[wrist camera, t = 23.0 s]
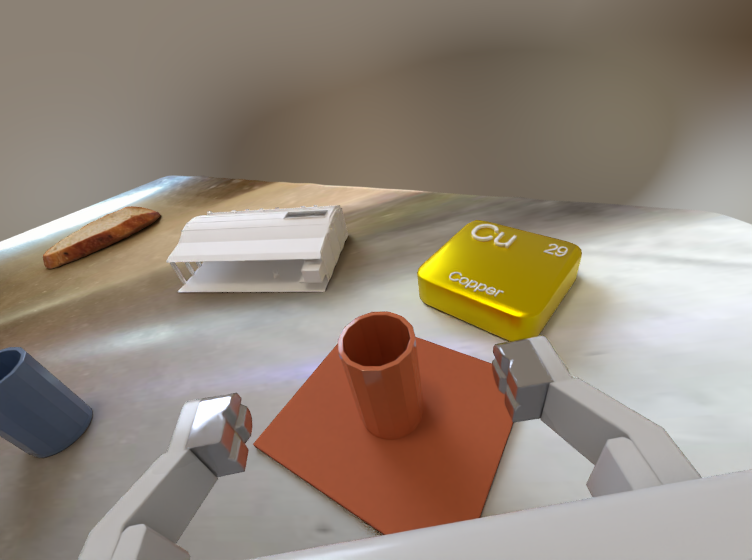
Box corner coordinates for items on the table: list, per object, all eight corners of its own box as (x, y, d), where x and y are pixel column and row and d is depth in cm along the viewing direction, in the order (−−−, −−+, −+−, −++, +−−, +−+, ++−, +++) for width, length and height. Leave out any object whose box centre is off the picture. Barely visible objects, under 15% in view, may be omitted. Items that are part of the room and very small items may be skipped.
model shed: (173, 292, 56) (149, 255, 52) (219, 239, 67) (203, 205, 63) (327, 292, 50) (314, 251, 46) (350, 234, 61) (341, 197, 57)
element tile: (413, 300, 46) (409, 270, 43) (473, 242, 54) (473, 213, 51) (529, 351, 38) (534, 319, 35) (580, 273, 46) (588, 241, 43)
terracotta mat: (456, 584, 24) (456, 582, 24) (254, 446, 34) (252, 444, 34) (528, 379, 35) (529, 376, 35) (360, 320, 45) (359, 317, 45)
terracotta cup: (404, 452, 31) (390, 383, 25) (347, 421, 34) (322, 353, 28) (434, 396, 35) (428, 324, 29) (380, 373, 38) (364, 303, 32)
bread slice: (37, 271, 68) (21, 255, 66) (92, 223, 82) (81, 208, 80) (126, 258, 67) (114, 241, 64) (167, 211, 81) (159, 196, 78)
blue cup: (42, 469, 36) (-46, 414, 29) (20, 440, 39) (-64, 385, 32) (102, 418, 39) (35, 360, 33) (78, 396, 42) (12, 339, 36)
